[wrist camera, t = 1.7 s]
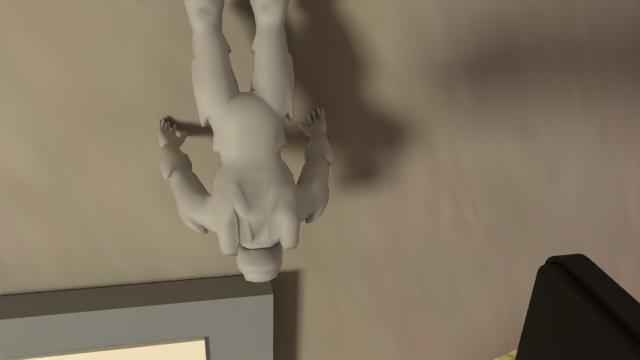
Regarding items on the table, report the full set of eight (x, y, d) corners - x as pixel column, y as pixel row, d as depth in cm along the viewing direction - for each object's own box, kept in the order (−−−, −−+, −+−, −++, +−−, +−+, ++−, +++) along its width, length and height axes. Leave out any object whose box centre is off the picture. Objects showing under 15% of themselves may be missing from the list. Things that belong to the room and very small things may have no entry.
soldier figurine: (138, -60, 20) (173, 260, 21) (110, -121, 15) (158, 307, 16) (310, -63, 21) (331, 242, 23) (340, -121, 16) (364, 281, 17)
